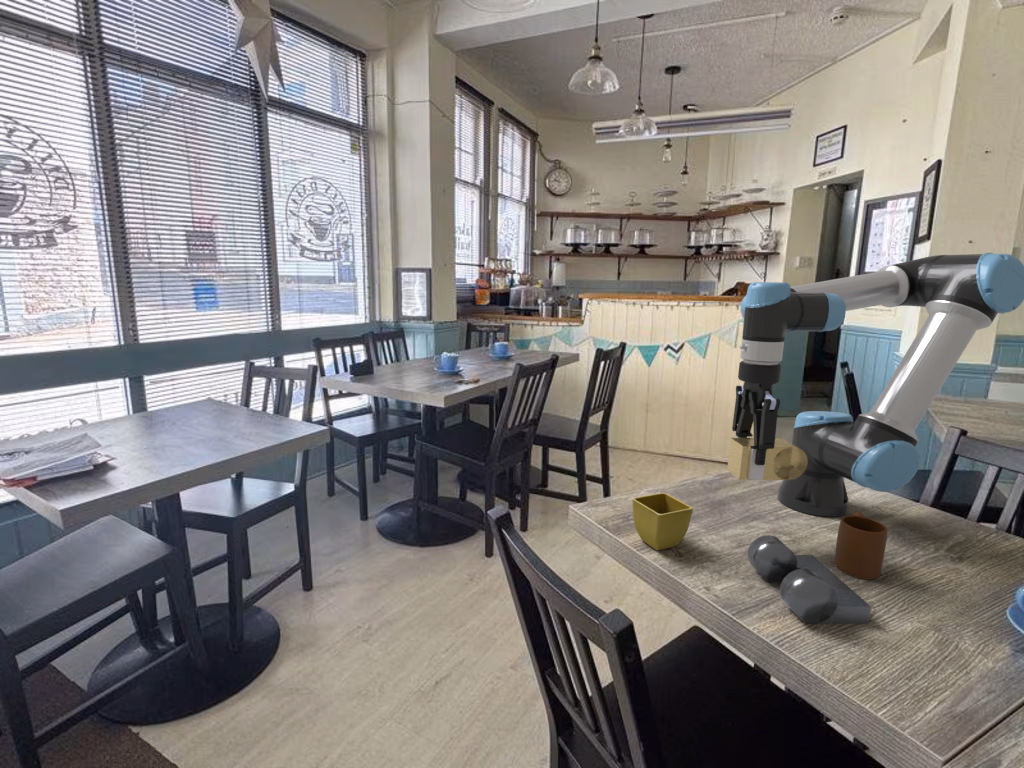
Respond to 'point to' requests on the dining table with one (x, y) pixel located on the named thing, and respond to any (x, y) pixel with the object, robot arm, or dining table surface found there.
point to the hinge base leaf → (807, 584)
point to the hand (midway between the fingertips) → (748, 472)
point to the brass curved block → (767, 460)
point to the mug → (860, 546)
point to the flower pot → (661, 520)
